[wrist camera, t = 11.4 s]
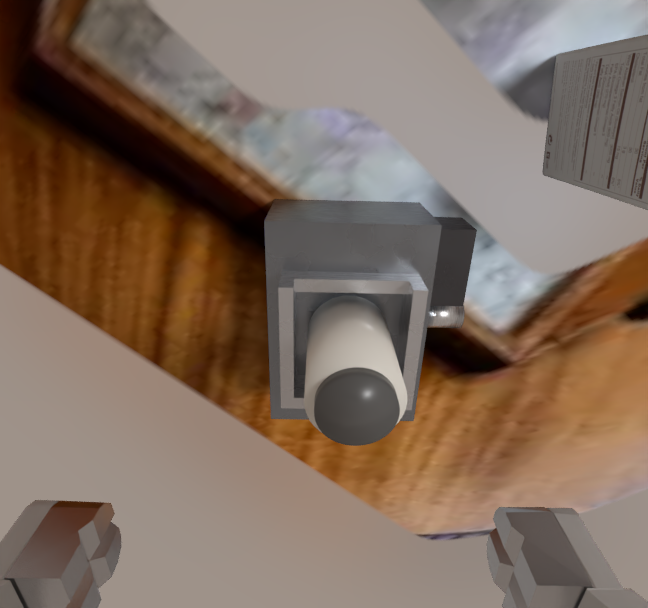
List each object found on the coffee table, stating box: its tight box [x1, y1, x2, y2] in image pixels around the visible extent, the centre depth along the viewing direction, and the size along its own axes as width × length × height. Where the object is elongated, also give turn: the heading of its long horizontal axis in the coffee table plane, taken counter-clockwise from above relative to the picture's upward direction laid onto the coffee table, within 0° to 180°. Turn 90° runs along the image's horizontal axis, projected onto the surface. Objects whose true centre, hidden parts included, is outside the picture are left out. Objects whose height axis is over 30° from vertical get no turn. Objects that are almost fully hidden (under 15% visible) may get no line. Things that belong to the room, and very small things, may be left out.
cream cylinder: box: [304, 296, 407, 446], centre depth 24 cm, size 5×5×8 cm
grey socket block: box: [264, 199, 477, 421], centre depth 29 cm, size 13×14×8 cm
